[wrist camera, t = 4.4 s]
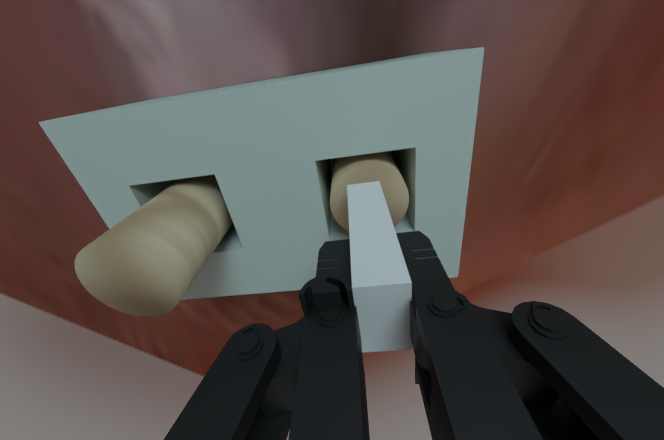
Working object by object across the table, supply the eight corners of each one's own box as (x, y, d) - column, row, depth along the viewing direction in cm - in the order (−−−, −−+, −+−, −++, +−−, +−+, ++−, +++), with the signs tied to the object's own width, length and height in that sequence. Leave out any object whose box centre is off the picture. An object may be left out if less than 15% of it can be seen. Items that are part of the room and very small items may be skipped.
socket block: (212, 231, 26) (158, 301, 19) (154, 99, 20) (38, 122, 13) (421, 208, 24) (457, 277, 16) (424, 53, 18) (484, 47, 11)
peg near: (195, 225, 19) (111, 319, 12) (170, 171, 17) (51, 247, 10) (250, 219, 18) (195, 313, 12) (230, 163, 16) (150, 237, 10)
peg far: (338, 182, 22) (335, 238, 15) (330, 132, 20) (324, 170, 13) (388, 176, 21) (409, 231, 14) (385, 124, 19) (408, 159, 12)
